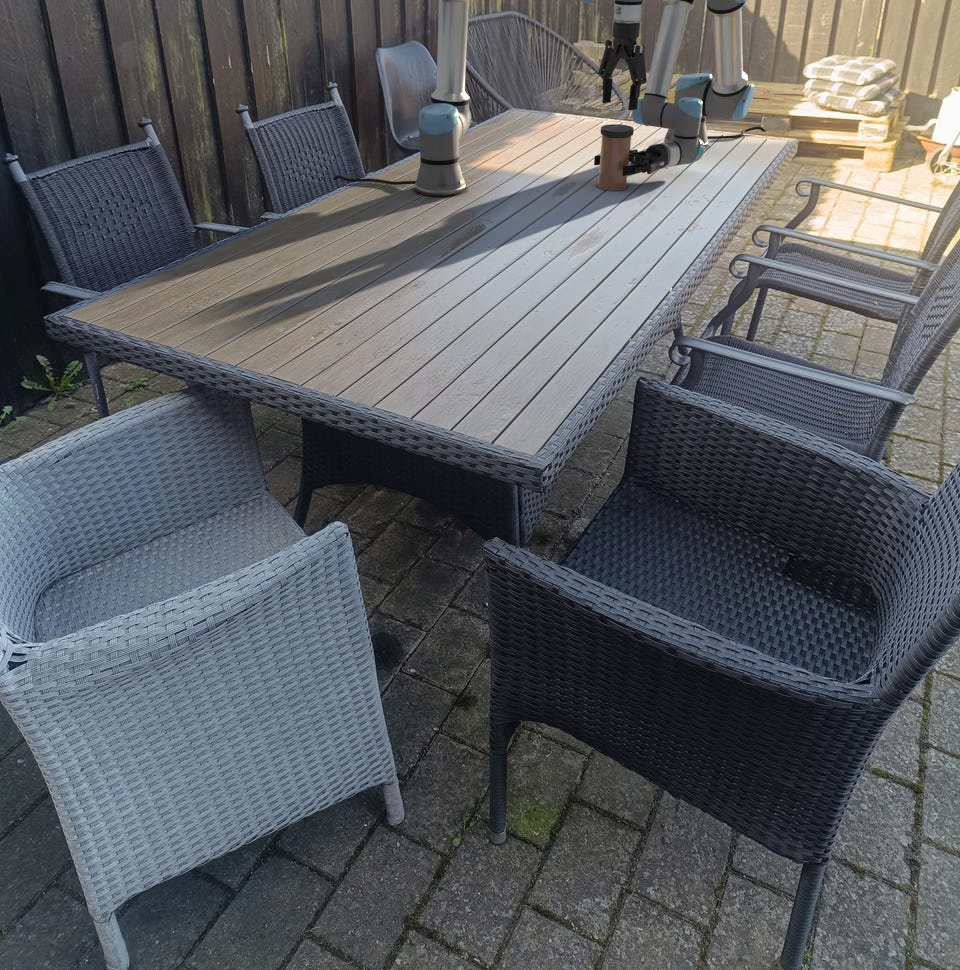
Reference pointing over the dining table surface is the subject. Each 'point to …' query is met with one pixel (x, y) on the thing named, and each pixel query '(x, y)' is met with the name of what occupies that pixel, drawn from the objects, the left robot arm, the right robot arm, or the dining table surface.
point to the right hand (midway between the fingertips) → (608, 165)
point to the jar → (613, 163)
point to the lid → (617, 131)
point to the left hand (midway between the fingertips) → (619, 106)
